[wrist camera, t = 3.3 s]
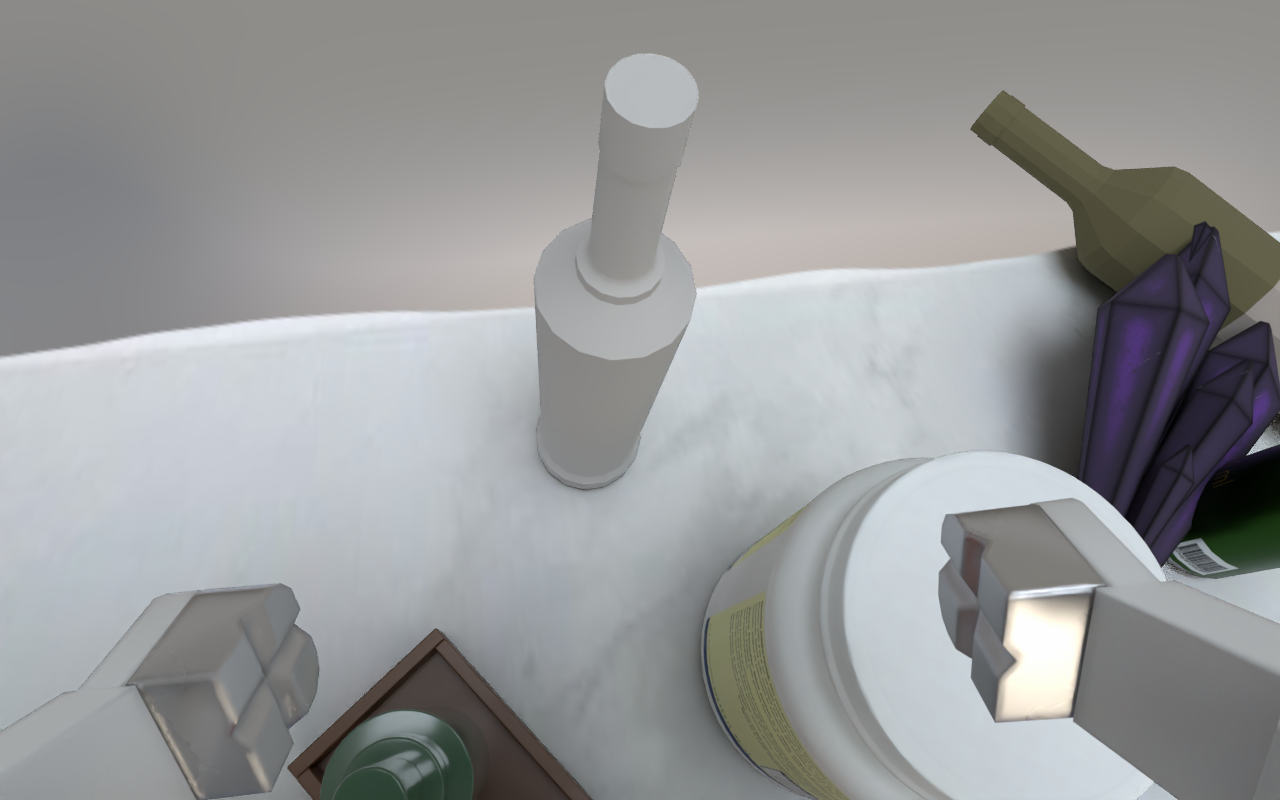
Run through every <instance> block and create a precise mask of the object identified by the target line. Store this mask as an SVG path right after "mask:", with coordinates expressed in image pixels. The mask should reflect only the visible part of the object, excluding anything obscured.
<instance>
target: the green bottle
mask: <svg viewBox="0 0 1280 800" xmlns="http://www.w3.org/2000/svg"><path fill="white" fill-rule="evenodd" d="M489 769H490V756H489V749H488V745H487V742H486V739H485V737H484V735H483V733H482V731H481V730H480V728H479V727H478V726H477V724H476V723H475V722H474V721H473V720H472V719H471V718H469V717H468V716H467V715H465V714H464V713H462V712H460V711H457V710H455V709H452V708H447V707H426V708H412V709H398V710H392V711H387V712H384V713H381V714H378V715H376V716H374V717H372V718H370V719H368V720H366V721H364V722H363V723H361V724H360V725H358V726H357V727H356V728H355V729H354V730H352V731H351V732H350V733H349V734H348V735H347V736H346V737H345V738H344V739H343V741H342V742H341V743H340V745H339V746H338V747H337V749H336V750H335V752H334V753H333V755H332V757H331V759H330V761H329V763H328V765H327V768H326V770H325V773H324V777H323V780H322V785H321V790H320V800H479V799H480V797H481V795H482V793H483V791H484V789H485V786H486V783H487V780H488V776H489Z"/></svg>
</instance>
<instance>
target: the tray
mask: <svg viewBox="0 0 1280 800" xmlns="http://www.w3.org/2000/svg"><path fill="white" fill-rule="evenodd" d="M426 707H447V708H452V709H455V710H457V711H460V712H462V713H464V714H465V715H467V716H468V717H469V718H471V719H472V720H473V721H474V722H475V723H476V724H477V726H478V727H479V728H480V730H481V731H482V733H483V735H484V737H485V739H486V742H487V745H488V749H489V756H490V769H489V776H488V780H487V783H486V786H485V789H484V791H483V793H482V795H481V797H480V799H479V800H593V799H592V798H591V797H590V796H589V795H588V794H587V793H586V792H585V791H584V789H583V788H582V787H581V786H580V785H579V784H578V783H577V782H576V781H575V779H574V778H573V777H572V776H571V775H570V774H569V773H568V772H567V771H566V769H565V768H564V767H563V766H562V765H561V764H560V763H559V762H558V761H557V759H556V758H555V757H554V756H553V755H552V754H551V753H550V752H549V751H548V749H547V748H546V747H545V746H544V745H543V744H542V743H541V742H540V741H539V739H538V738H537V737H536V736H535V735H534V734H533V733H532V732H531V731H530V729H529V728H528V727H527V726H526V725H525V724H524V723H523V722H522V721H521V719H520V718H519V717H518V716H517V715H516V714H515V713H514V712H513V711H512V709H511V708H510V707H509V706H508V705H507V704H506V703H505V702H504V701H503V699H502V698H501V697H500V696H499V695H498V694H497V693H496V692H495V691H494V689H493V688H492V687H491V686H490V685H489V684H488V683H487V682H486V681H485V680H484V678H483V677H482V676H481V675H480V674H479V673H478V672H477V671H476V670H475V668H474V667H473V666H472V665H471V664H470V663H469V662H468V661H467V660H466V658H465V657H464V656H463V655H462V654H461V653H460V652H459V651H458V650H457V648H456V647H455V646H454V645H453V644H452V643H451V642H450V641H449V640H448V638H447V637H446V636H445V635H444V634H443V633H442V632H441V631H439V630H438V629H434V630H433V631H432V632H431V633H430V634H429V635H428V636H427V637H426V638H425V639H424V640H423V641H422V642H420V643H419V644H418V645H417V646H416V647H415V648H414V649H413V650H412V651H411V652H410V653H409V654H408V655H407V656H405V657H404V658H403V659H402V660H401V661H400V662H399V663H398V664H397V665H396V666H395V667H394V668H393V669H392V670H391V671H389V672H388V673H387V674H386V675H385V676H384V677H383V678H382V679H381V680H380V681H379V682H378V683H377V684H376V685H374V686H373V687H372V688H371V689H370V690H369V691H368V692H367V693H366V694H365V695H364V696H363V697H362V698H361V699H359V700H358V701H357V702H356V703H355V704H354V705H353V706H352V707H351V708H350V709H349V710H348V711H347V712H346V713H345V714H343V715H342V716H341V717H340V718H339V719H338V720H337V721H336V722H335V723H334V724H333V725H332V726H331V727H330V728H328V729H327V730H326V731H325V732H324V733H323V734H322V735H321V736H320V737H319V738H318V739H317V740H316V741H315V742H313V743H312V744H311V745H310V746H309V747H308V748H307V749H306V750H305V751H304V752H303V753H302V754H301V755H300V756H298V757H297V758H296V759H295V760H294V761H293V762H292V763H291V764H290V765H289V766H288V770H289V771H290V772H291V773H292V774H293V776H294V777H295V778H297V780H298V782H299V783H300V784H301V785H302V787H303V788H304V789H305V790H306V791H307V793H308V794H309V795H310V796H311V798H312V799H313V800H320V790H321V785H322V780H323V777H324V773H325V770H326V768H327V765H328V763H329V761H330V759H331V757H332V755H333V753H334V752H335V750H336V749H337V747H338V746H339V745H340V743H341V742H342V741H343V739H344V738H345V737H346V736H347V735H348V734H349V733H350V732H351V731H352V730H354V729H355V728H356V727H357V726H358V725H360V724H361V723H363V722H364V721H366V720H368V719H370V718H372V717H374V716H376V715H378V714H381V713H384V712H387V711H392V710H398V709H412V708H426Z"/></svg>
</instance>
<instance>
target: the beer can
mask: <svg viewBox="0 0 1280 800" xmlns="http://www.w3.org/2000/svg"><path fill="white" fill-rule="evenodd" d="M1167 561H1169V562H1170V563H1171V564H1173V565H1174V566H1175V567H1177V568H1178V569H1181V570H1183V571H1186V572H1188V573H1190V574H1193V575H1196V576H1199V577H1204V578H1214V579H1218V578H1223V577H1229V576H1235V575H1240V574H1246V573H1252V572H1257V571H1263V570H1269V569H1274V568H1280V444H1279V445H1277V446H1274V447H1271V448H1268V449H1265V450H1262V451H1259V452H1256V453H1253V454H1250V455H1247V456H1244V457H1242V458H1239V459H1236V460H1233V461H1230V462H1228V463H1226V464H1225V465H1224V466H1222V467H1221V468H1219V469H1218V470H1217V471H1216V472H1215V473H1214V475H1213V476H1212V477H1211V478H1210V480H1209V481H1208V482H1207V484H1206V485H1205V487H1204V489H1203V491H1202V493H1201V495H1200V497H1199V499H1198V501H1197V505H1196V508H1195V512H1194V515H1193V518H1192V524H1191V529H1190V531H1189V532H1188V533H1187V535H1186V536H1185V537H1184V538H1183V540H1182V541H1181V542H1180V544H1179V545H1178V546H1177V548H1176V549H1175V550H1174V552H1173V553H1172V554H1171V556H1170V557H1169V558H1168V560H1167Z"/></svg>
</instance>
